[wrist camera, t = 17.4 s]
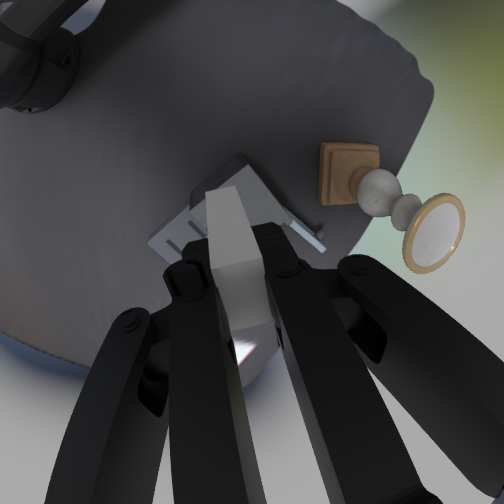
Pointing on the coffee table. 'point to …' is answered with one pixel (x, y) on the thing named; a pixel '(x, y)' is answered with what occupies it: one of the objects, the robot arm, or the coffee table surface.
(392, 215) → the candle holder
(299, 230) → the door
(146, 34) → the coffee table surface
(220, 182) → the cabinet
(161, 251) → the console
